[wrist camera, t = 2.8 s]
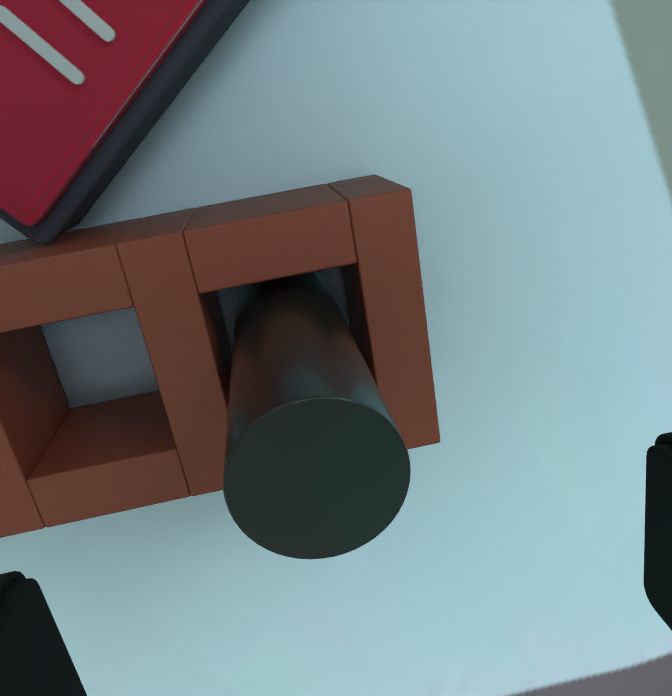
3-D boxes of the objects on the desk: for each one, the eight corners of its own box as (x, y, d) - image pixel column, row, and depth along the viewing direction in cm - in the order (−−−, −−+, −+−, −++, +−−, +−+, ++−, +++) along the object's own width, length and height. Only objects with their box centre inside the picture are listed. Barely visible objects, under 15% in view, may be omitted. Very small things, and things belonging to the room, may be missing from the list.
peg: (247, 359, 23) (246, 578, 12) (226, 268, 22) (201, 420, 11) (339, 341, 24) (421, 538, 12) (323, 249, 22) (398, 378, 11)
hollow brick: (38, 458, 24) (-14, 541, 19) (-45, 252, 21) (-131, 290, 16) (404, 382, 24) (441, 443, 20) (376, 174, 22) (411, 188, 17)
